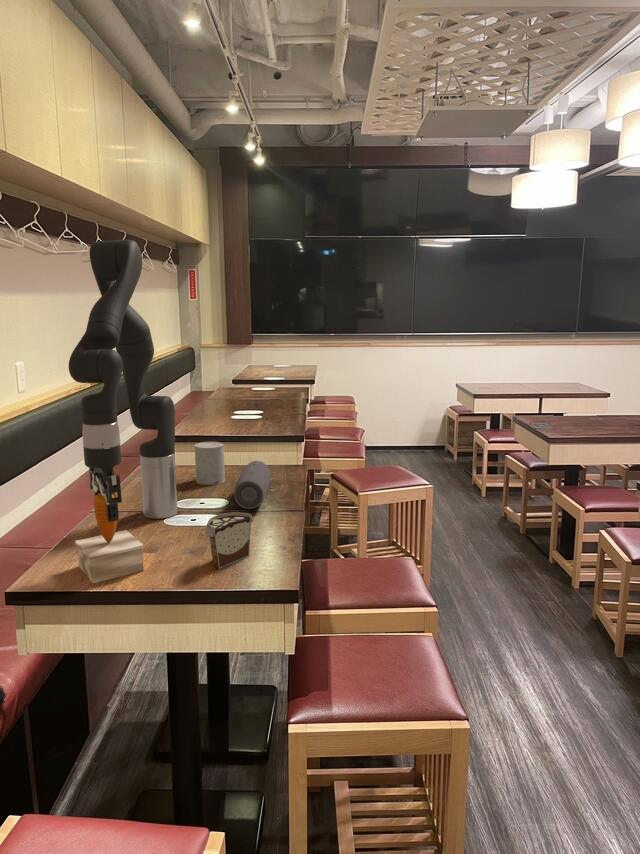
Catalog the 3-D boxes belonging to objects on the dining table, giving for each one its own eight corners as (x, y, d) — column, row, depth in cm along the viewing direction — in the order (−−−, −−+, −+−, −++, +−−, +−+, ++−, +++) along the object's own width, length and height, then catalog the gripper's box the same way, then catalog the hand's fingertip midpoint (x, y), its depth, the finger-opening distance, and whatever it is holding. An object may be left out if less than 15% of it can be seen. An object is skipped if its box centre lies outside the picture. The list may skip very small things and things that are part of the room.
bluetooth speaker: (242, 489, 200) (241, 459, 198) (271, 489, 200) (271, 459, 198) (232, 513, 177) (231, 479, 175) (265, 513, 177) (264, 479, 175)
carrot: (96, 548, 137) (90, 481, 134) (97, 539, 142) (92, 475, 138) (120, 545, 138) (115, 479, 135) (121, 537, 143) (116, 473, 140)
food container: (235, 547, 152) (234, 508, 151) (253, 554, 149) (252, 513, 147) (195, 564, 143) (193, 522, 141) (213, 571, 139) (212, 528, 137)
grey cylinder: (223, 484, 205) (221, 447, 202) (193, 485, 205) (191, 448, 202) (226, 476, 214) (225, 441, 212) (198, 477, 214) (197, 441, 212)
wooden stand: (76, 566, 142) (74, 540, 141) (127, 554, 149) (126, 529, 148) (91, 584, 133) (89, 557, 132) (145, 570, 140) (143, 545, 138)
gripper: (74, 439, 139) (80, 510, 142) (93, 451, 127) (99, 528, 131) (109, 435, 143) (113, 503, 146) (130, 446, 132) (135, 520, 135)
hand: (107, 515), depth 138 cm, fingers open, 8 cm apart
